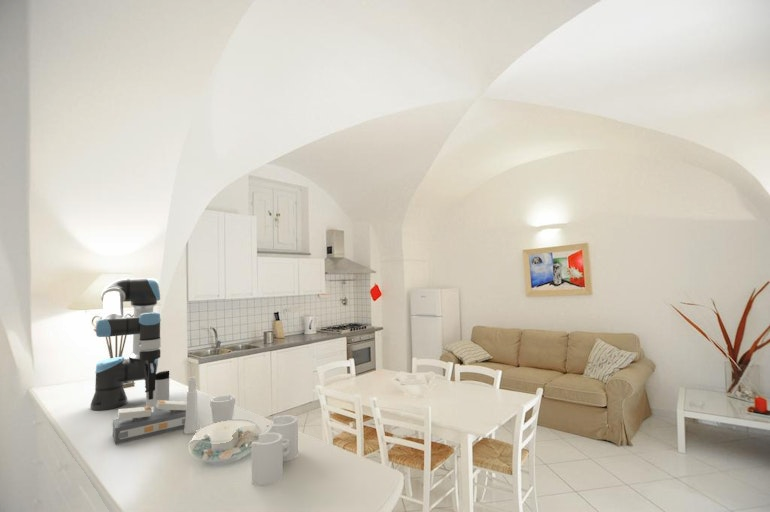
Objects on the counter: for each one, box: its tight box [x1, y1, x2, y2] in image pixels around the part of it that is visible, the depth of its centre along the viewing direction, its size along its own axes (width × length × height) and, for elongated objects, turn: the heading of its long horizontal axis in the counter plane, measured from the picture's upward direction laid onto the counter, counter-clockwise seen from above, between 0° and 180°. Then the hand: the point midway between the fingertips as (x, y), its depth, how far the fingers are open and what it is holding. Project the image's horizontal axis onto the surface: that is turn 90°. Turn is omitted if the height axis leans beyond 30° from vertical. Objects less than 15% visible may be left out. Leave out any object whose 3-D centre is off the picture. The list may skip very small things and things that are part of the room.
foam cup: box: [210, 394, 236, 424], centre depth 157 cm, size 10×9×13 cm
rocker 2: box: [156, 400, 187, 410], centre depth 163 cm, size 6×11×3 cm, turn 129°
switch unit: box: [112, 410, 186, 445], centre depth 158 cm, size 12×27×7 cm, turn 129°
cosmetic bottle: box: [183, 376, 200, 435], centre depth 157 cm, size 6×6×22 cm
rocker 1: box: [117, 406, 153, 419], centre depth 155 cm, size 6×11×3 cm, turn 129°
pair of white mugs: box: [251, 414, 299, 487], centre depth 127 cm, size 25×10×12 cm, turn 178°
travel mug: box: [152, 370, 170, 412], centre depth 178 cm, size 6×7×20 cm
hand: (150, 406), depth 158 cm, fingers closed
